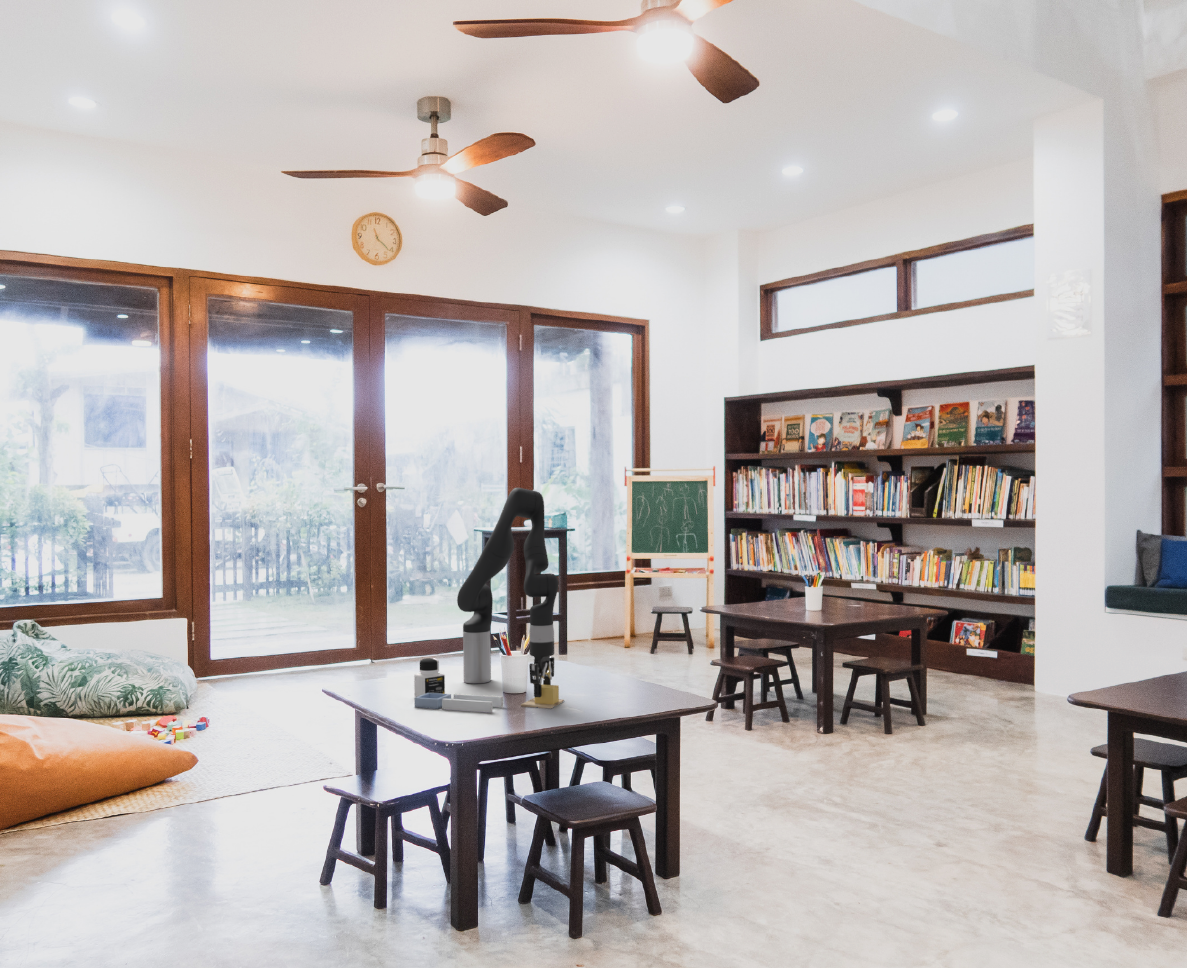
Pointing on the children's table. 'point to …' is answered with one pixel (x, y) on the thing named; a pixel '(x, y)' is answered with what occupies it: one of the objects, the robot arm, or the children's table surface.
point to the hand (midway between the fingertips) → (542, 694)
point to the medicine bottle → (429, 678)
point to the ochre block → (548, 695)
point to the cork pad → (532, 704)
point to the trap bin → (431, 700)
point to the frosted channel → (472, 703)
